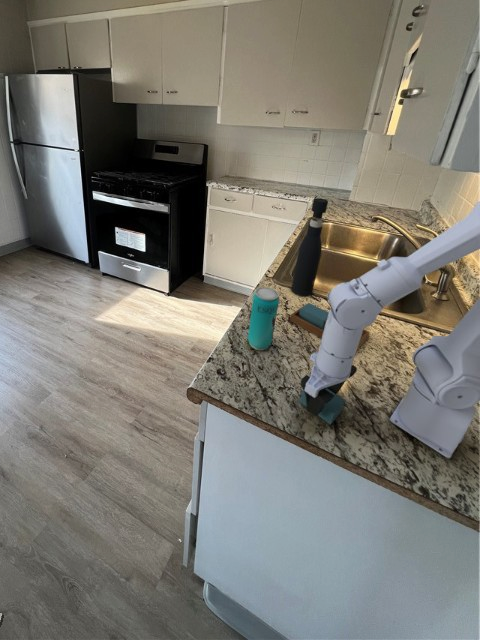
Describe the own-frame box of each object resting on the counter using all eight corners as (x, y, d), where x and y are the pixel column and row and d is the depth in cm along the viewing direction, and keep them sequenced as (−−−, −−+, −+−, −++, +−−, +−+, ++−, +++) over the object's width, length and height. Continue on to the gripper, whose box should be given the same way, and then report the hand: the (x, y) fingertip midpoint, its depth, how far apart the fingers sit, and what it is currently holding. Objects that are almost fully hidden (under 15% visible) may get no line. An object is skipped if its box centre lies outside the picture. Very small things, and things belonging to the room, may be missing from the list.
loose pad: (341, 411, 61) (345, 400, 59) (330, 424, 58) (334, 413, 57) (311, 390, 65) (314, 379, 64) (299, 401, 62) (302, 391, 61)
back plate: (367, 338, 80) (370, 332, 80) (351, 355, 75) (354, 348, 74) (307, 308, 92) (308, 302, 91) (289, 320, 86) (290, 314, 86)
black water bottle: (289, 285, 104) (306, 196, 91) (309, 287, 103) (329, 197, 90) (292, 295, 98) (311, 202, 85) (313, 297, 98) (335, 203, 85)
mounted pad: (330, 323, 85) (332, 314, 84) (321, 330, 82) (324, 320, 81) (306, 311, 90) (308, 302, 88) (298, 317, 87) (300, 308, 86)
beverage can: (271, 354, 74) (280, 301, 68) (246, 350, 75) (253, 297, 69) (270, 338, 79) (279, 287, 73) (247, 335, 80) (254, 284, 74)
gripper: (335, 320, 62) (321, 371, 68) (295, 353, 53) (282, 408, 59) (372, 338, 57) (353, 391, 63) (334, 378, 49) (317, 435, 55)
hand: (321, 401), depth 61 cm, fingers open, 6 cm apart
